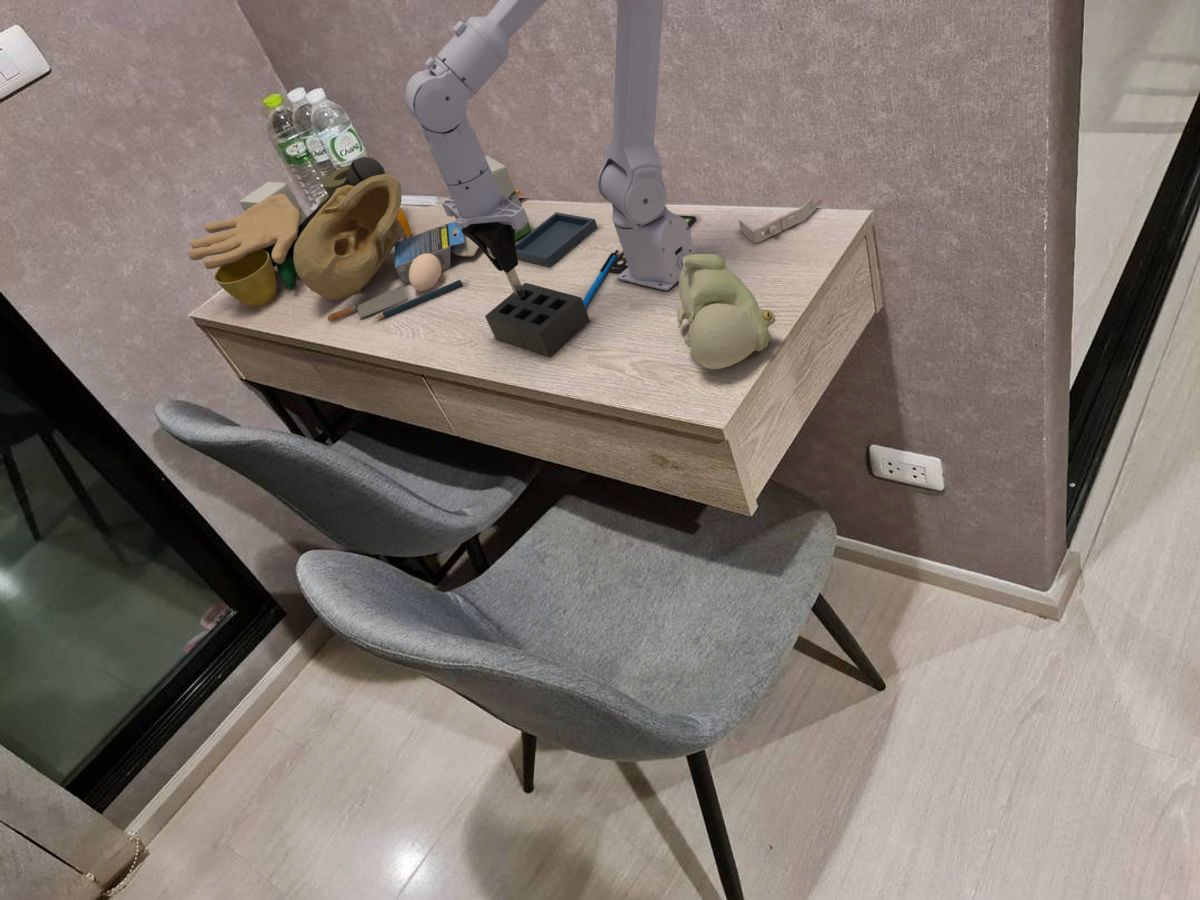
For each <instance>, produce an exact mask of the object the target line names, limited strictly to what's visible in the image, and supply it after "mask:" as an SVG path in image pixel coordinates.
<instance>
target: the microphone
mask: <svg viewBox="0 0 1200 900" xmlns="http://www.w3.org/2000/svg"><path fill="white" fill-rule="evenodd" d="M349 165H350V167H349V169H348V177H347V178H346V180H345V182H344V183H343V184H342V185H341V186H340V187H342V186H345V185H351V186H356V185H357V184H359V183H360V182H362V181H364V180H366V179H368V178H370V177H372V176H376V175H382V174H385V173H386V171H385V169H384V167H383V165H382V164H381V163H380V162H379V161H378V160H377V159H375V158H372V157H369V156H362V157H359V158H356V159H353V160H352V161H351V162H350V164H349ZM333 193H334V192H333ZM333 193H332V194H331V195H330V196H329V197H328V198H327V199H326V200H325V201H324V202H323V203H322V204H321V205H320V206H319V207H318V208H317V209H316V210H314V211H313V212H312V213H311V212H310V214H309V215H308V216H307V218H306V219H305V220H304V221H303V222H302V223H301V224H300V225H299V228H298V236H300V235H301V233H302V232H303V230H304V229H305V227H306V226H307V225H308V223H309V222H310V221H311V219H312V218H313V217H314V216H315V215H316V214H317V212H318V211H319V210H320V209H321V208H322V206H323V205H324V204H325V203H326V202H327V201H328V200H329V199H330V198H331V196H332V195H333Z"/></svg>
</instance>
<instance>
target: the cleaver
mask: <svg viewBox="0 0 1200 900" xmlns="http://www.w3.org/2000/svg"><path fill="white" fill-rule="evenodd" d="M407 301H409V299H408V297H407V294H406V293H405V290H404V288H403V286H402V285H401V286H398V287H396V288H394V289H392V290H389V291H387V292H385V293H383V294H381V295H378V296H376V297H374V298H372V299H370V300H367V301H365V302H363V303H360V304H358V305H356V304H354V305H352V306H351V305H350V306H349V307H347V308H344V309H341V310H339V311H335V312H332V313H330V314H328V315H327V321H328V322H330V323H333V322H336V321H338V320H340V319H343V317H346V316H348V315H351V314H353V313H355V312H357V314H358V317H359V319H363V318H366V317H368V316H370V315H374V314H376V313H379V312H381V311H385V310H387V309H390V308H393V307H395V306H398V305H400V304H403V303H405V302H407Z"/></svg>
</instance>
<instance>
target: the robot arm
mask: <svg viewBox="0 0 1200 900" xmlns="http://www.w3.org/2000/svg"><path fill="white" fill-rule="evenodd" d="M547 1H548V0H498V1H497V3H496V4H495V5H494V6H493V8H492V9H491V10H490V12H489V13H488V14H487V15H485V16H470V17H469V18H468V19H467V20H466V22H463V21H461V20H458V22H457V23H456V24H454V26H453V27H452V31H453V33H455V34H454V35H453V36H452V37H451V39H450V40H449V41H448V42H447V43H446V44H445V46H443V48H442V49H441V50H440V52H438V54H437V55H436V56H434V58H432V57H431V56H429V57H428V58H427V60H426V61H425V62H424V65H425V66H426V67H427V68H428V69H424V70H420V71H418V72H416V73H414V74H413V75H412V76H411V78H409V81H408V82H407V85H406V87H405V88H406V91H405V94H404V95H405V102H406V103H405V107H406V109H407V110H408V112H409V113H410V114H411V116H413V117H414V118H415V119H416V120H417V121H418V122H419V124H420V127H421V129H422V134H423V137H424V139H425V140H426V142H427V143H428V149H429V152H430V153H431V156H432V159H433V160H434V162H435V164H436V166H437V169H438V172H439V173H440V175H441V177H442V179H443V181H444V184H445V185H446V188H447V190H448V192H449V194H450V196H449V197H448V198H446V199H445V200H444V201H443V202H441V205H442V208H443V209H444V212H445V214H446V216H447V217H451V218H453V217H455V216H456V217H457V219H456V218H455V220H454V222H455V224H456V226H457V227H462V230H461V231H462V233H463V235H465V236H466V237H468V238H469V239H471V240H472V241H473V242H474V243H475V244H476V245H477V246H478V247H479V248H478V249H480V250H481V252H483V253H484V255H485V256H486V257H487V259H488V260H489V261H490V262H491V264H492V265H493V266H494V267H495V269H497V270H498V271H499V272H504V273H505V272H506V273H508V272H510V271H511V270H512V269H513V268H514V269H515V268H516V267H518V265H519V260H517V253H516V246H515V244H516V240H515V230H519V229H520V228H521V227H523V226H524V225H525V224H527V223H529V222H530V219H529V217H528V215H527V212H526V210H525V208H524V207H523V206H522V207H519V206H517V205H515V204H514V203H513V202H511V201H510V200H509V199H507V198H506V197H505V196H504V195H502V194H501V193H500V191H499V188H498V186H497V184H496V181H495V179H494V176H493V174H492V172H491V169H490V167H489V165H488V162H487V160H486V158H485V156H486V155H485V153H484V151H483V148H482V145H481V144H480V141H479V139H478V136H477V134H476V132H475V129H474V128H473V126H471V124H470V121H469V119H468V116H467V108H468V107H467V105H468V102H469V101H470V100H472V99H473V98H474V97H475V95H476V94H478V92H479V91H480V90H481V89H482V87H484V85H485V84H486V83H487V82H489V80H490V79H491V78H492V76H493V75H495V73H496V72H497V71H498V70H499V69H500V67H501V66H502V65H503V64H504V63H505V62H506V61H507V60H508V58H509V52H510V51H509V50H510V49H509V48H510V47H509V46H510V39H511V38H512V37H513V36H514V35H515V34H516V33H517V32H518V31H519V30H520V29H521V28H522V27H523V26H524V25H525V23H526V22H528V21H529V20H530V18H532V16H533V15H535V14H536V12H538V10H539V9H540V8H541V7H542V6H543V5H544V4H545V3H546V2H547ZM615 2H616V4H617V11H616V12H617V13H616V38H615V39H616V40H615V64H614V91H613V92H614V94H613V114H612V115H613V117H612V119H613V120H612V121H613V122H612V139H611V141H610V142H609V143H608V145H606V148H605V150H604V162H603V164H602V166H601V168H600V170H599V173H598V176H597V189H598V192H599V193H600V195H601V196H602V198H603V199H604V200H606V201H607V202H609V203H611V206H612V213H611V217H612V218H611V220H612V222H613V225H614V228H615V231H616V234H617V237H618V240H619V244H620V246H621V249H622V252H624V255H625V258H626V261H627V264H628V268H627V269H625V270H624V271H623V272H622V273H621V274H618V276H617V278H618V280H620V281H623V282H628V283H632V284H636V285H641V286H644V287H649V288H652V289H658V290H661V291H669V290H670V289H672V288H673V286H675V285H676V284H677V282H678V283H679V277H680V274H681V271H682V268H683V262H682V259H683V258H684V257H685V256H687V255H694V254H697V253H696V249H695V245H694V241H693V238H692V233H691V231H690V230H691V229H689V226H688V224H687V222H686V221H685V219H683V218H682V217H680V216H681V215H680V216H677V215H678V214H675V213H673V212H672V211H671V210H669V208H667V206H666V204H667V199H668V192H667V188H666V185H665V183H664V181H663V164H662V161H661V158H660V156H659V153H658V151H657V148H656V145H655V133H656V119H657V117H656V116H657V103H658V89H659V88H658V87H659V73H660V59H661V56H660V55H661V42H662V27H663V26H662V25H663V13H664V9H663V8H664V0H615ZM454 215H455V216H454ZM487 247H488V248H489V249H490V251H491V252H492V253H493V255H494V257H495V259H493V258H492V257H491V256H490V255H489V253H488V251H487Z"/></svg>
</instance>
